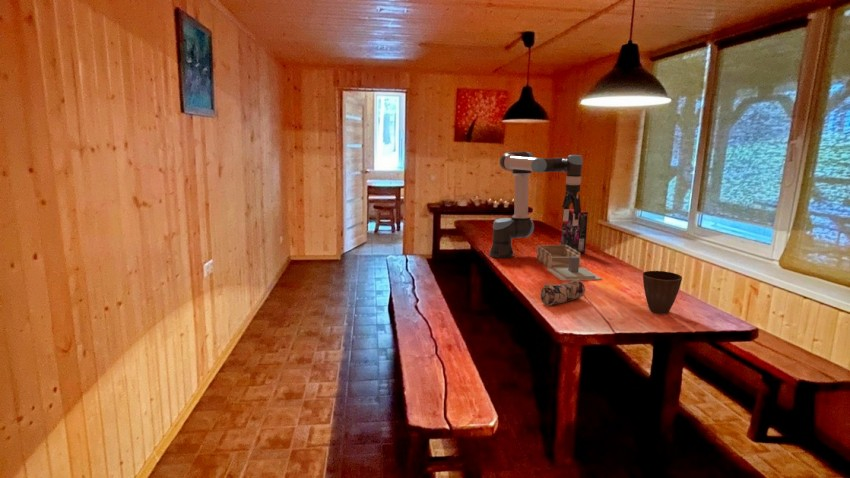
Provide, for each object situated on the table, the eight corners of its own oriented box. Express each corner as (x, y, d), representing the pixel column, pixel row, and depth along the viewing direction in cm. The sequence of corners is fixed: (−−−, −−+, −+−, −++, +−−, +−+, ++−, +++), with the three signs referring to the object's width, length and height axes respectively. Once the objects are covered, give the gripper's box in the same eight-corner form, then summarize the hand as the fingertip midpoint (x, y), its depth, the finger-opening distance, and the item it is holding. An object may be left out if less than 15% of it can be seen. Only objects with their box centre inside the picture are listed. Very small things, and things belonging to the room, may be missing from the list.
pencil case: (552, 308, 208) (554, 287, 206) (538, 303, 215) (539, 282, 213) (586, 299, 220) (587, 279, 218) (571, 294, 227) (572, 275, 225)
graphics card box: (559, 249, 322) (562, 208, 317) (567, 248, 325) (570, 208, 319) (577, 254, 307) (580, 212, 301) (586, 253, 310) (588, 211, 304)
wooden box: (536, 259, 294) (537, 245, 292) (565, 258, 295) (565, 244, 293) (549, 268, 272) (549, 253, 270) (579, 268, 274) (580, 253, 272)
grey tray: (560, 280, 249) (561, 279, 249) (546, 269, 270) (546, 268, 270) (601, 279, 251) (601, 278, 251) (584, 268, 273) (584, 267, 272)
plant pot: (640, 314, 201) (644, 278, 198) (638, 303, 214) (641, 269, 211) (680, 319, 196) (684, 281, 192) (675, 307, 209) (679, 272, 206)
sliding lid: (552, 268, 270) (553, 253, 268) (579, 268, 271) (580, 252, 269) (565, 279, 250) (566, 261, 248) (595, 278, 252) (596, 261, 250)
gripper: (589, 186, 244) (586, 227, 249) (571, 181, 269) (568, 219, 273) (575, 186, 244) (572, 227, 248) (558, 181, 268) (555, 219, 273)
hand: (570, 223), depth 261 cm, fingers open, 13 cm apart
